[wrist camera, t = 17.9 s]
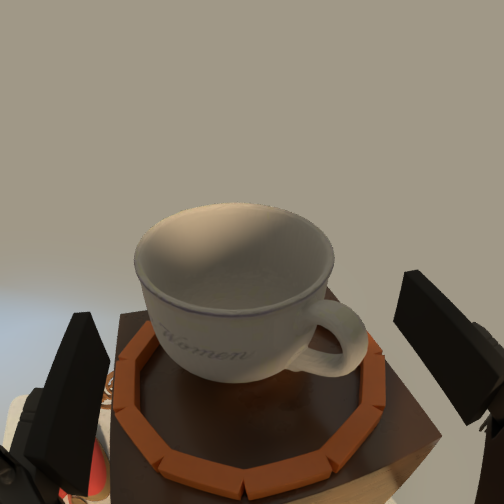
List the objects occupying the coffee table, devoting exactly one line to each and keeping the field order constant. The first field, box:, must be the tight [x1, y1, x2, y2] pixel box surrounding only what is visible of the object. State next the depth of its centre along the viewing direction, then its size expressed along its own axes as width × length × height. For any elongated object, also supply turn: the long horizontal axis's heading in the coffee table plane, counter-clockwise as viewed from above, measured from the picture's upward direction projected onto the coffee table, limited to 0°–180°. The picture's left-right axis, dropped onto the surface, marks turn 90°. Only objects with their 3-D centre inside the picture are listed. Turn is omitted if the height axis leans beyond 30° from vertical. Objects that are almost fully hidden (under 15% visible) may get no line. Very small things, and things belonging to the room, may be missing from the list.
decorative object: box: [59, 437, 110, 504], centre depth 29 cm, size 14×4×15 cm
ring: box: [113, 321, 386, 500], centre depth 19 cm, size 17×17×1 cm
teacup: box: [134, 203, 368, 383], centre depth 19 cm, size 14×11×8 cm
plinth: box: [110, 287, 442, 504], centre depth 25 cm, size 18×18×22 cm
